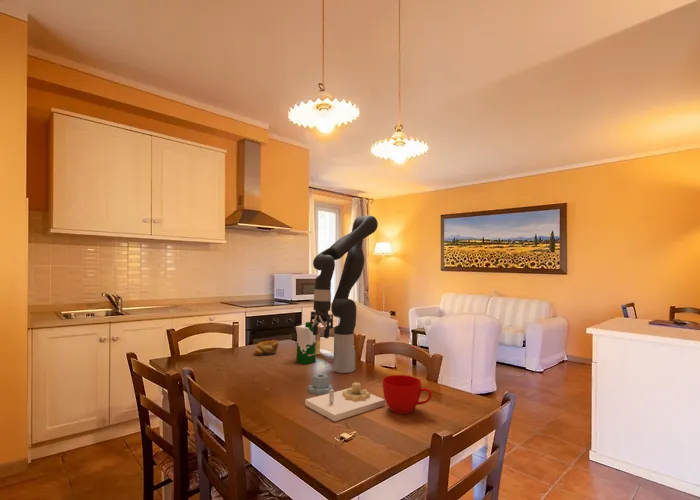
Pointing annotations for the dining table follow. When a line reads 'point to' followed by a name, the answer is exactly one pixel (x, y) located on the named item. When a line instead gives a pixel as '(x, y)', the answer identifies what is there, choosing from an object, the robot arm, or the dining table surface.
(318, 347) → the candy box
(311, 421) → the dining table surface
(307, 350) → the milk carton
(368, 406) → the carrier plate
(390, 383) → the ceramic cup
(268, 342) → the bread roll
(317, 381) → the planet gear
